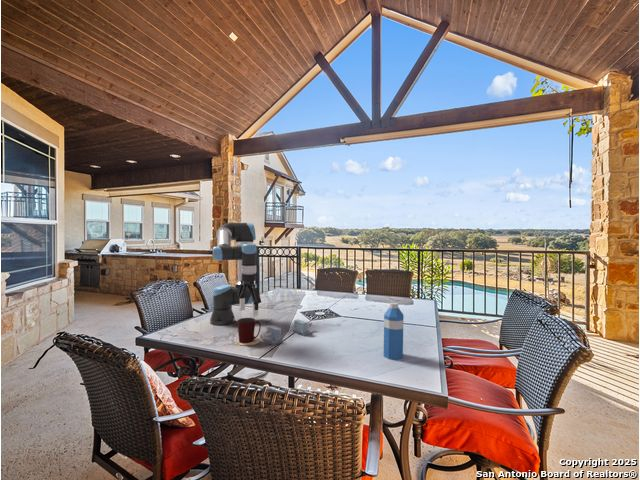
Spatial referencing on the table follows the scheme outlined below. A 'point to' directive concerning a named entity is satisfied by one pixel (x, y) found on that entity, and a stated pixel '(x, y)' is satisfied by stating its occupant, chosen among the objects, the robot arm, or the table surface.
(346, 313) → the table surface
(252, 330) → the mug
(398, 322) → the water bottle
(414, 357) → the table surface
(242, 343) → the coaster
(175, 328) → the table surface
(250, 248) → the robot arm
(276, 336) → the vise
